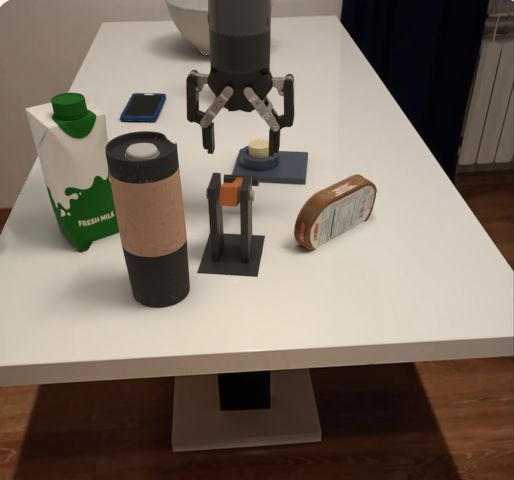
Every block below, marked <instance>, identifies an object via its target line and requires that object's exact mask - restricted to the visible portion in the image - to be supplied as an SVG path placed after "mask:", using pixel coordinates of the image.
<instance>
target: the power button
mask: <svg viewBox="0 0 514 480" xmlns="http://www.w3.org/2000/svg"><path fill="white" fill-rule="evenodd" d="M248 146H249V156H251V157H254V158H264V157H268V156H269V140H265V139H253V140H251V141H249V143H248Z"/></svg>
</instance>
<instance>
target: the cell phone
mask: <svg viewBox="0 0 514 480" xmlns="http://www.w3.org/2000/svg"><path fill="white" fill-rule="evenodd" d="M166 99H167V94H166V93H161V92H159V93H157V92H156V93H155V92H133V93H132V94H131V96H130V97H129V99H128V101H127V103H126V105H125V107H124V108H123V110H122V112H121V114H120V116H119V119H120V121H122V122H155V121H157V120H158V118H159V115H160V113H161V112H162V108H163V106H164V104H165V101H166Z"/></svg>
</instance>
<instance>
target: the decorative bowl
mask: <svg viewBox="0 0 514 480" xmlns="http://www.w3.org/2000/svg"><path fill="white" fill-rule="evenodd" d="M164 1H165V5H166V8H167V11H168V13H169V15H170V18H171V20H172V22H173V24H174V25H175V27H176V29H177V30H178V31H179V33H180V34H181V35H182V37H184V39H186V40H187V41H188V42H189V43H190V44H192V45H193V46H194V47H196V48H197V50H199V51H200V52H202V53H204V54H207V55H210V42H209V24H208V18H207V15H208V0H164ZM274 5H275V0H271V12H273V8H274ZM199 51H198V52H199ZM200 52H199V53H200ZM204 54H203V55H204ZM207 55H206V56H207Z"/></svg>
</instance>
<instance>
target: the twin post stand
mask: <svg viewBox="0 0 514 480" xmlns="http://www.w3.org/2000/svg"><path fill="white" fill-rule="evenodd" d="M221 185H222V174H221V172H212V175H211V177H210V180H209V183H208V186H207V187H206V190H205V197H206V198H205V199H206V200H207V205H208V206H207V207H208V222H209V234H208V237H207V240H206V243H205V246H204V251H203V252H202V256H201V260H200V263H199V266H198V269H197V272H196V273H197V274H205V275H219V276H220V275H221V276H235V277H236V276H237V277H249V278H250V277H251V278H258V277H259V271H260V266H261V261H262V255H263V250H264V245H265V240H266V239H265V238H266V236H265V235H264V234H263V235H261V234H253V202H254V201H255V190H254V189H253V186H252V175H251V174H244V177H243V180H242V184H241V188H240V203H239V211H240V212H239V219H240V222H239V223H240V225H239V226H240V233H229V232H228V233H226V232H224V218H223V217H224V214H223V206H220V186H221Z"/></svg>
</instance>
